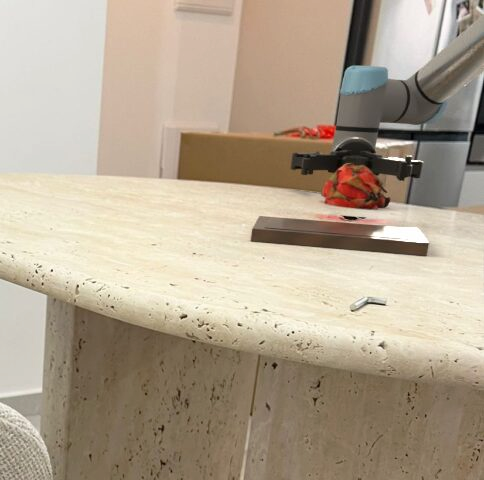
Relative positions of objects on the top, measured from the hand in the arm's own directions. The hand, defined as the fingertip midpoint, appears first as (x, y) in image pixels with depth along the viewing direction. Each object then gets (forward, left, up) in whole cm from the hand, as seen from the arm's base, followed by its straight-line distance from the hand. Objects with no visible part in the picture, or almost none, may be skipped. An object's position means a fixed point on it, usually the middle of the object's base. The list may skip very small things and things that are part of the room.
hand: (356, 168), depth 146 cm
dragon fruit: (0, +8, -7) cm, 11 cm away
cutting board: (+2, +35, -7) cm, 35 cm away
